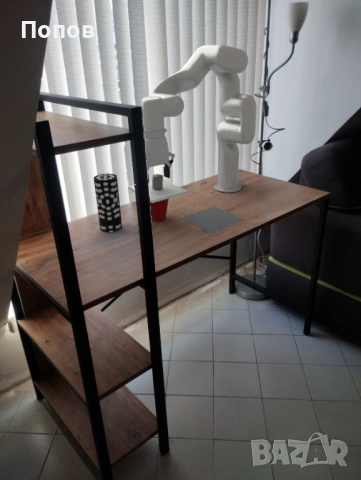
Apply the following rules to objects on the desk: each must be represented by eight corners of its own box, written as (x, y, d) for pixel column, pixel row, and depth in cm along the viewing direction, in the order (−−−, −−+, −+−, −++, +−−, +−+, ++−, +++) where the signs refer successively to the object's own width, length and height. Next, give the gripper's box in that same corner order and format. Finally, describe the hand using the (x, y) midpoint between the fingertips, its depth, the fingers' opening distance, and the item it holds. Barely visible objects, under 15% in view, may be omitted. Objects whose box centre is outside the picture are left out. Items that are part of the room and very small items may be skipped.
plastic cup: (160, 227, 146) (158, 197, 140) (139, 221, 152) (137, 192, 146) (178, 218, 153) (177, 189, 148) (157, 212, 159) (155, 184, 154)
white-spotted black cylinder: (122, 231, 144) (117, 179, 135) (99, 233, 143) (93, 181, 134) (121, 222, 151) (116, 172, 142) (100, 224, 150) (93, 174, 141)
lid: (161, 180, 157) (162, 166, 154) (186, 193, 146) (187, 178, 143) (128, 188, 148) (127, 173, 145) (152, 202, 137) (152, 187, 134)
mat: (213, 207, 163) (213, 206, 162) (245, 220, 150) (245, 219, 150) (180, 218, 153) (180, 217, 153) (211, 233, 140) (211, 232, 140)
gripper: (167, 128, 145) (168, 173, 152) (127, 135, 135) (131, 182, 143) (179, 131, 139) (180, 177, 147) (139, 139, 130) (143, 187, 138)
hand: (156, 180), depth 145 cm, fingers open, 9 cm apart
